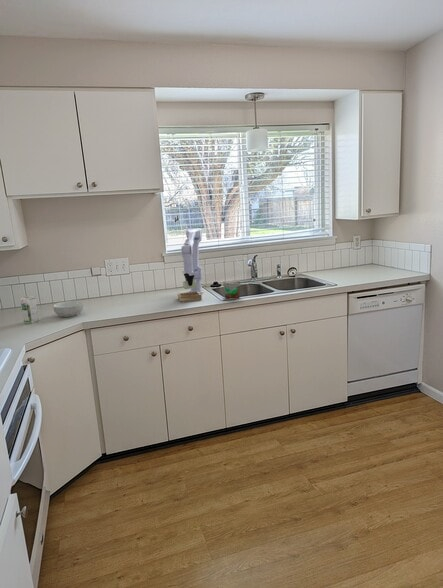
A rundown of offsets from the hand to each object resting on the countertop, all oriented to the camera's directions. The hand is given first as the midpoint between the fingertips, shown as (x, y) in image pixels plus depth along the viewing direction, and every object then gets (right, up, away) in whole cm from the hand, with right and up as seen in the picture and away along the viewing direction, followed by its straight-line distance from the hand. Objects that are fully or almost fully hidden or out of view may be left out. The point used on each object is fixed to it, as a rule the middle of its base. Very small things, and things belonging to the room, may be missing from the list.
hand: (189, 285), depth 258 cm
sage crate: (0, -2, 0) cm, 2 cm away
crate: (0, -9, +2) cm, 9 cm away
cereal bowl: (-69, -19, -22) cm, 74 cm away
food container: (+27, -9, -1) cm, 28 cm away
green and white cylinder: (-86, -22, -33) cm, 95 cm away
